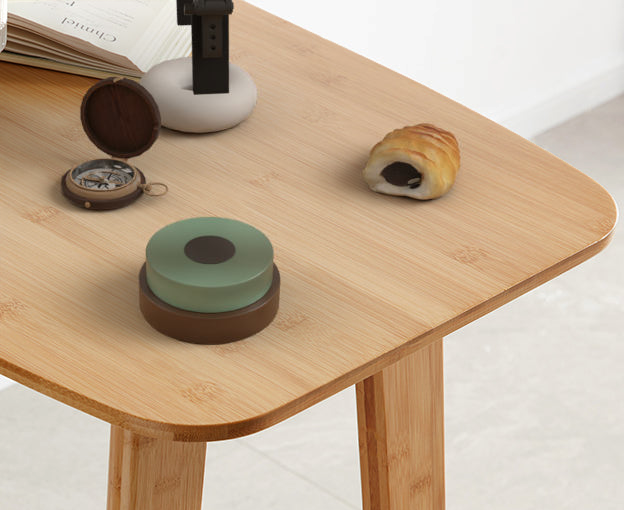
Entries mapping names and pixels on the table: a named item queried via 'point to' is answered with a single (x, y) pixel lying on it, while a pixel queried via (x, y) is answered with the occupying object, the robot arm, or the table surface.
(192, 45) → the robot arm
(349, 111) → the table surface
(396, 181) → the pastry
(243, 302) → the ring stack
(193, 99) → the donut
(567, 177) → the table surface
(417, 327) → the table surface
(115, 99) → the compass
